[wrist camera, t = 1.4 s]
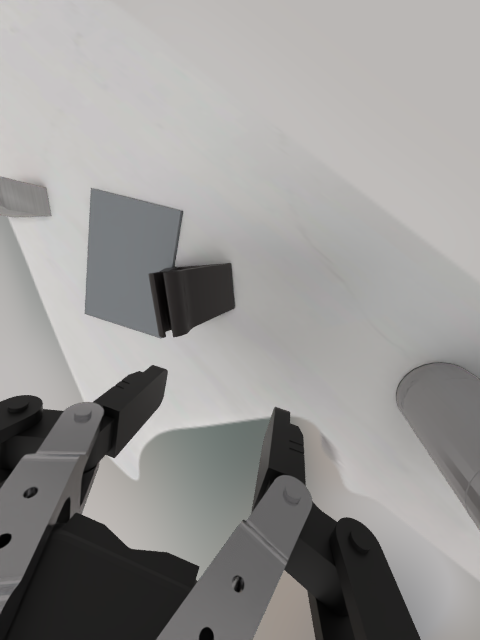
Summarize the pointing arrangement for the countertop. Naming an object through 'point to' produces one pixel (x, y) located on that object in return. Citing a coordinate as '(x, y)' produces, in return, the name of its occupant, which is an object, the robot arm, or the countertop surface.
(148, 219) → the mat
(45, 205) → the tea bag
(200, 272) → the phone stand
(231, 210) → the countertop surface
